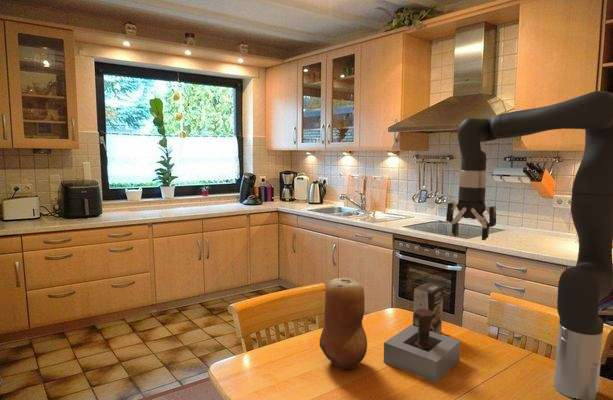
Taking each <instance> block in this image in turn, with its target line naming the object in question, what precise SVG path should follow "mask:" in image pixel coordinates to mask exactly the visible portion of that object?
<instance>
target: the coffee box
mask: <svg viewBox="0 0 613 400" xmlns="http://www.w3.org/2000/svg"><path fill="white" fill-rule="evenodd" d="M443 301H444V285H440V284H436V283H430V282H425V283H423V284H421V285H419V286H416V287H415V288H414V292H413V314H412V325H413V326H416V327H419V323H418V319H417V318H416V317H414V313H415V311H416V310H418V309H427V310H431V311H433V312H434V313H435V318H434V319H433V320H432V321H430V331H432V332H435V333H438V334H441V332H442V327H443V326H442V325H443V324H442V323H443V303H444V302H443Z"/></svg>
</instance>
